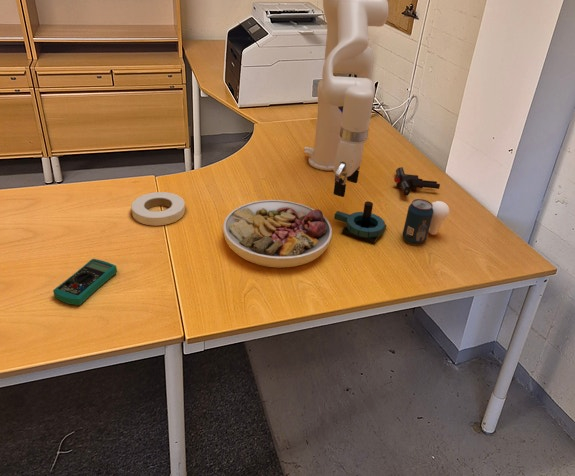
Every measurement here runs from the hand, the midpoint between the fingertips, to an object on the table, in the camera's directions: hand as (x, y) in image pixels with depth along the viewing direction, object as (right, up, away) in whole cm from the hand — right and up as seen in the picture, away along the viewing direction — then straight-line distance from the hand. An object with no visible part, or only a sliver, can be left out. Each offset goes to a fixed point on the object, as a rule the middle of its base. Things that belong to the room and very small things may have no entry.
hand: (345, 188), depth 150 cm
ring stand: (+6, -12, +3) cm, 14 cm away
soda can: (+20, -15, +1) cm, 25 cm away
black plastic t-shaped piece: (+27, +2, +29) cm, 40 cm away
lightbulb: (+26, -14, +4) cm, 30 cm away
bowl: (-20, -16, -4) cm, 25 cm away
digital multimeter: (-65, -26, -25) cm, 74 cm away
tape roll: (-55, -7, +5) cm, 56 cm away
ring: (+4, -11, +3) cm, 12 cm away
